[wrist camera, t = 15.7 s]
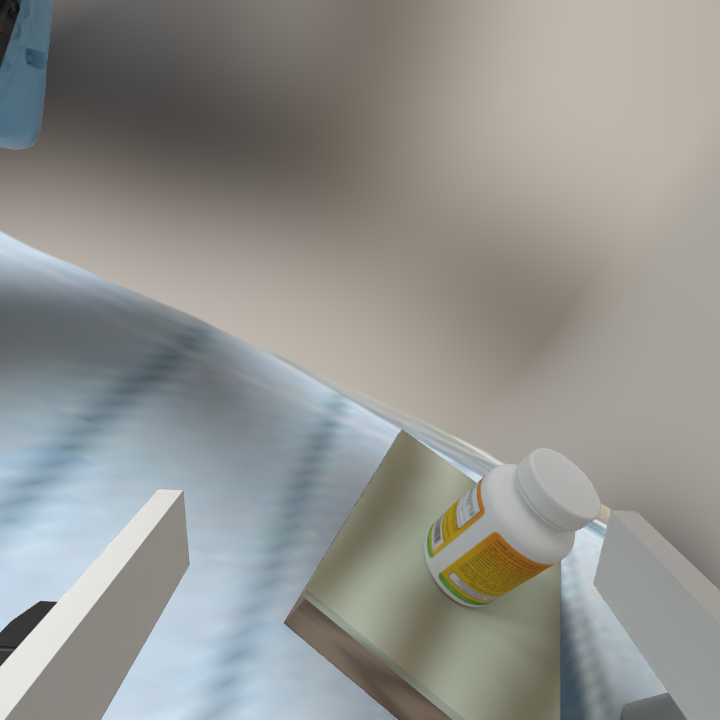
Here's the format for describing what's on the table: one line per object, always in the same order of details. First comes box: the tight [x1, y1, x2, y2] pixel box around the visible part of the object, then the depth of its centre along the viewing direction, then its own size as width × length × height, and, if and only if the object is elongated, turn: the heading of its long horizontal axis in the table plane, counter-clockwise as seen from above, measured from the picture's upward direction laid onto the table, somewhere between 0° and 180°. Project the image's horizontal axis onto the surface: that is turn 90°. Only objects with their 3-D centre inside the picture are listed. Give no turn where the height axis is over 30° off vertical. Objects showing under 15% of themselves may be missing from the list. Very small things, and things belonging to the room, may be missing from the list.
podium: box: [284, 429, 561, 720], centre depth 27 cm, size 15×15×6 cm
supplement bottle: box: [424, 448, 601, 607], centre depth 22 cm, size 5×5×10 cm
